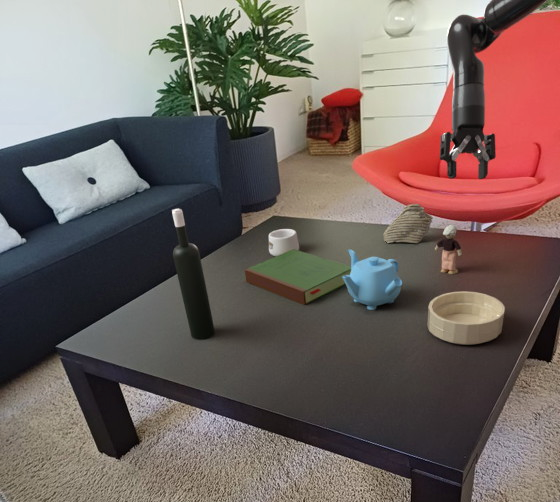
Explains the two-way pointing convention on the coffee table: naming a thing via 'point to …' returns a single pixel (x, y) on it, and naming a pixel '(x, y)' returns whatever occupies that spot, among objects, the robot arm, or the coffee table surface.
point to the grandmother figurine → (449, 250)
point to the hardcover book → (298, 276)
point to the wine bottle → (192, 282)
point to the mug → (282, 241)
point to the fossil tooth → (409, 225)
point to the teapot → (373, 280)
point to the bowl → (465, 317)
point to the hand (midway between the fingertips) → (467, 178)
